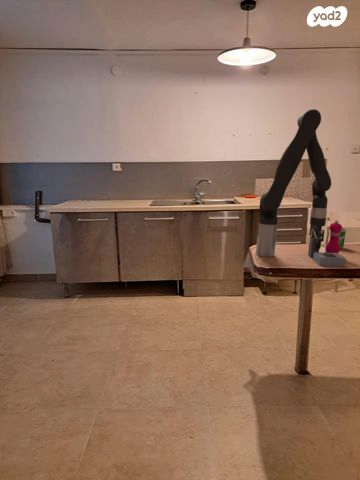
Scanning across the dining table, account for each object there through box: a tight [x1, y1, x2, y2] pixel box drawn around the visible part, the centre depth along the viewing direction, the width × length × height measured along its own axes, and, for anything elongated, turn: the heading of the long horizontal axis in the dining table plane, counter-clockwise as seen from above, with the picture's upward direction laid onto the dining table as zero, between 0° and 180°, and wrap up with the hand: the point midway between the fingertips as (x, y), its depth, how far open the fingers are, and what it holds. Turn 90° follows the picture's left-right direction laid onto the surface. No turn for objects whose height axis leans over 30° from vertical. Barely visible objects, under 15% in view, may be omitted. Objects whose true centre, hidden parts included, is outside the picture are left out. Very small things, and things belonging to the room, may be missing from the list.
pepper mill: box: [324, 219, 343, 254], centre depth 164 cm, size 7×7×20 cm
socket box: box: [312, 251, 347, 267], centre depth 156 cm, size 12×9×4 cm
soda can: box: [338, 226, 347, 250], centre depth 183 cm, size 8×8×12 cm
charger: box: [307, 235, 320, 259], centre depth 165 cm, size 4×4×12 cm
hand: (315, 246), depth 165 cm, fingers open, 8 cm apart
